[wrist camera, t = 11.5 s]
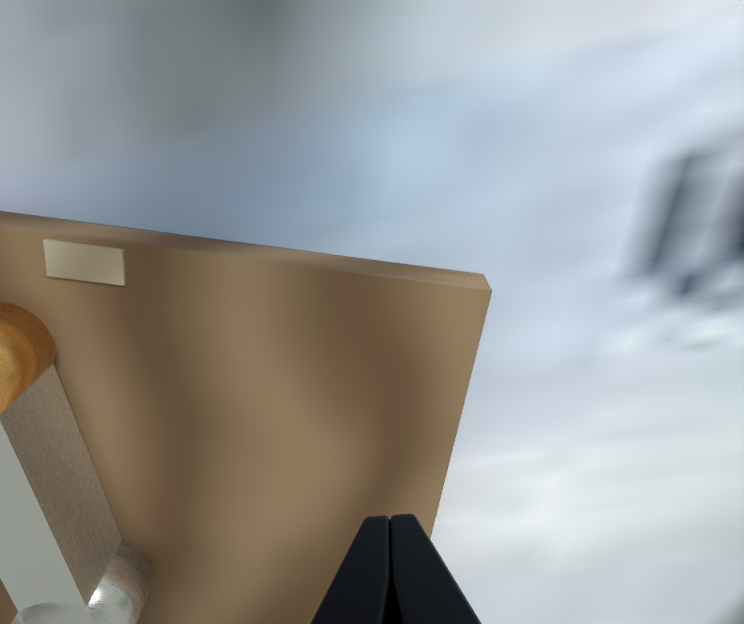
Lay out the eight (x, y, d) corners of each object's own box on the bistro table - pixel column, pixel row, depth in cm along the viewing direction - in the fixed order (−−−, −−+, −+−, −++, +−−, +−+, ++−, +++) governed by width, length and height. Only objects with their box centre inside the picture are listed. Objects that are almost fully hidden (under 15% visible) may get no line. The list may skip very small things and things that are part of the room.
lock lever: (165, 600, 23) (138, 672, 20) (72, 607, 23) (33, 679, 21) (52, 295, 17) (-7, 339, 15) (-71, 307, 17) (-152, 352, 15)
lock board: (-56, 633, 27) (-80, 667, 25) (-178, 187, 18) (-227, 199, 16) (388, 670, 28) (389, 704, 27) (483, 274, 19) (492, 291, 18)
